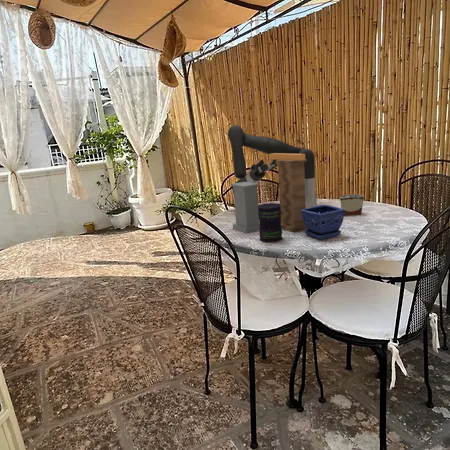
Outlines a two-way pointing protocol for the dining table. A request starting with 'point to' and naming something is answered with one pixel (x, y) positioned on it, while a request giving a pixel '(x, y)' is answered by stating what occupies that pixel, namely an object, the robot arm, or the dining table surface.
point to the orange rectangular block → (287, 156)
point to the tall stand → (291, 193)
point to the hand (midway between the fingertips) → (270, 160)
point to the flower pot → (323, 221)
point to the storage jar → (270, 222)
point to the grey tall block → (246, 206)
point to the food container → (352, 204)
